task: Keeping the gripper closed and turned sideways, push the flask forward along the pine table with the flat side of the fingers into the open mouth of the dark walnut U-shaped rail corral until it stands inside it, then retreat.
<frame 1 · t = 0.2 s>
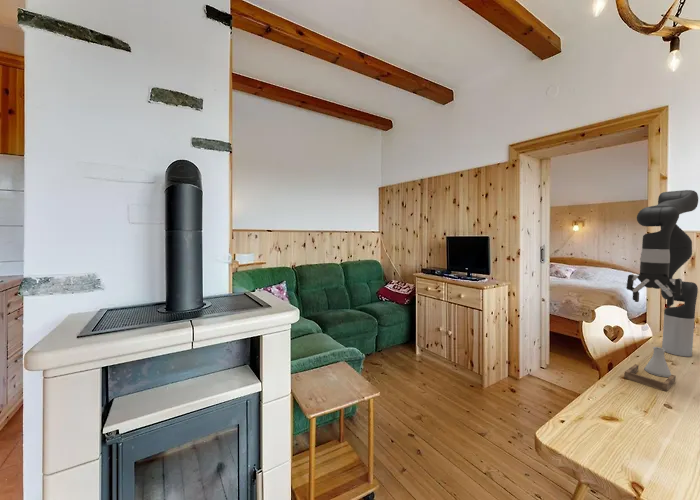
hand: (652, 303, 109), 28 cm above the table, fingers open, 8 cm apart
corral: (649, 380, 108), on the table
flask: (657, 373, 114), on the table
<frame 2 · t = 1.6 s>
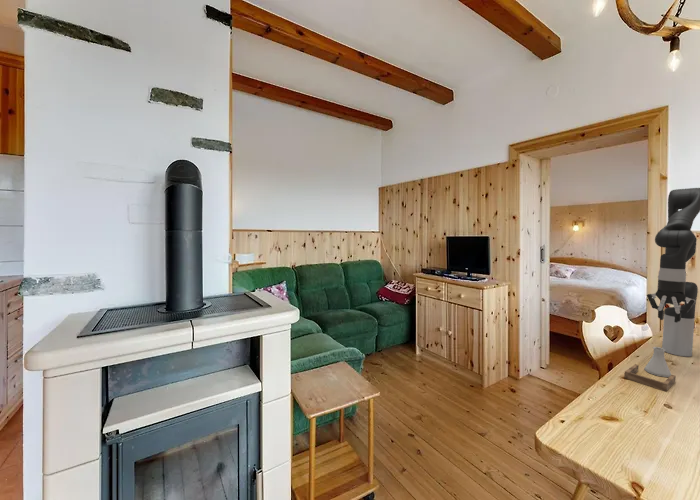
hand: (668, 320, 119), 19 cm above the table, fingers open, 3 cm apart
nothing on the table moved.
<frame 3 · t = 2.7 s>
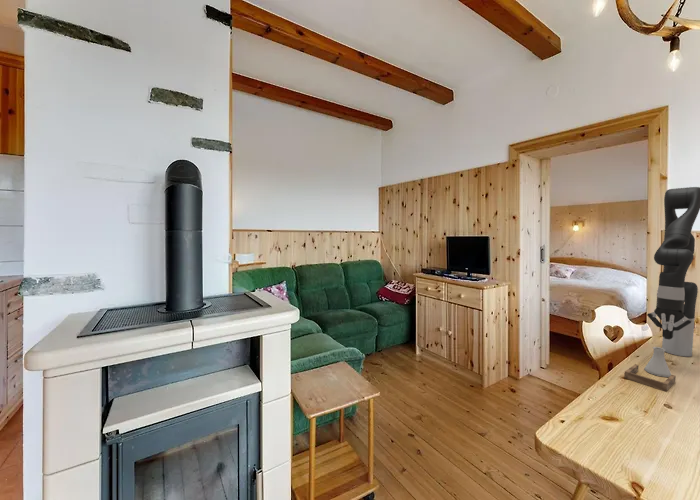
hand: (667, 338, 119), 12 cm above the table, fingers closed
nothing on the table moved.
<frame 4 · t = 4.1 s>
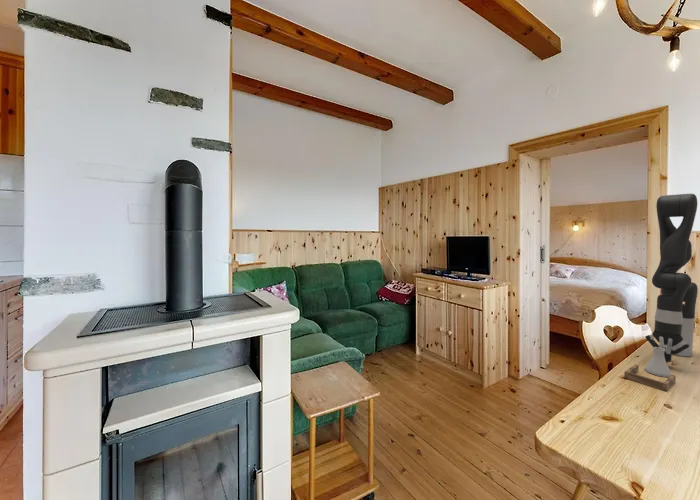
hand: (665, 361, 119), 2 cm above the table, fingers closed
nothing on the table moved.
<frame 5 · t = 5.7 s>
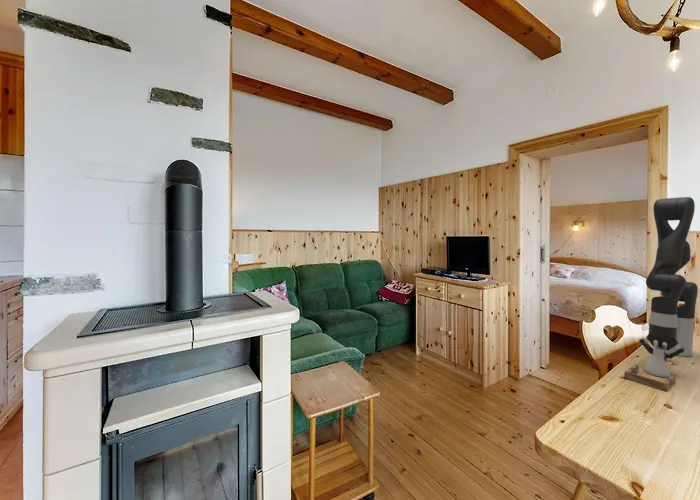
hand: (660, 366, 115), 2 cm above the table, fingers closed
flask: (657, 374, 114), on the table, touching gripper
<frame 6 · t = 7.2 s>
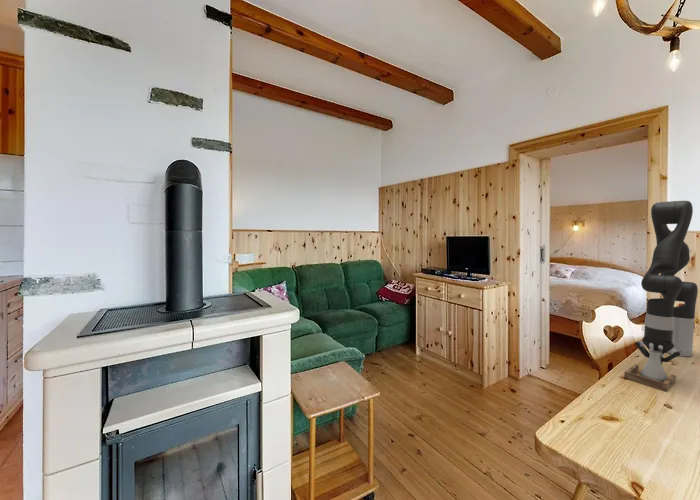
hand: (655, 369, 113), 2 cm above the table, fingers closed
flask: (653, 377, 111), on the table, touching gripper
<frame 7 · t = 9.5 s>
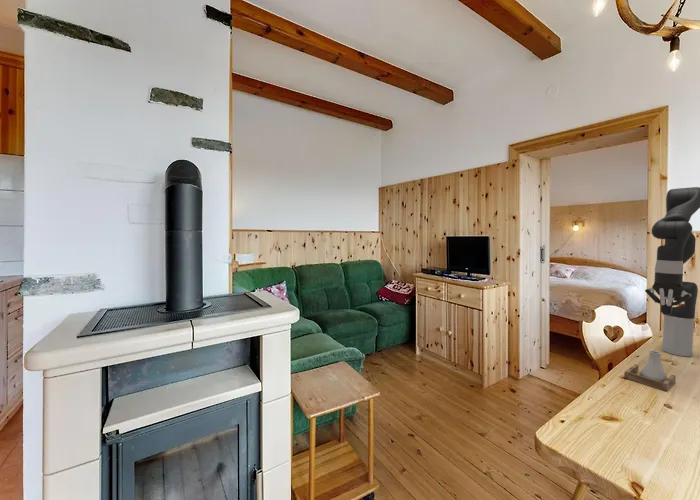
hand: (665, 314, 116), 23 cm above the table, fingers closed
flask: (653, 378, 111), on the table
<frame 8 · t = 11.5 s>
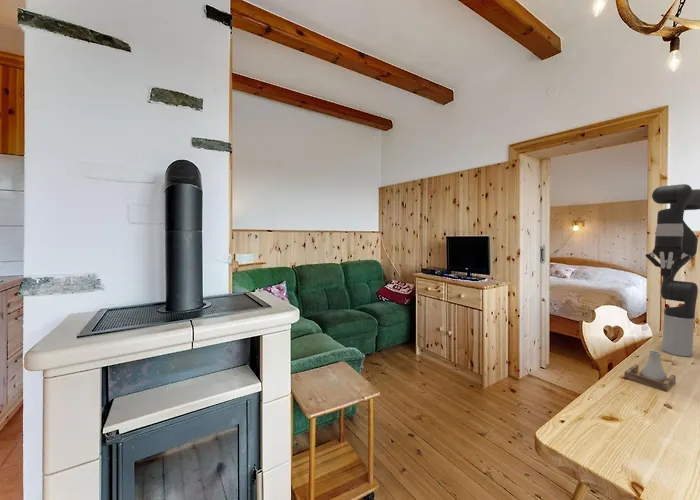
hand: (666, 277, 118), 37 cm above the table, fingers closed
nothing on the table moved.
at the end: flask inside the target area on the corral (4.0 cm from its centre), point 0.0 cm above the corral's base; flask tilted 0° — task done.
